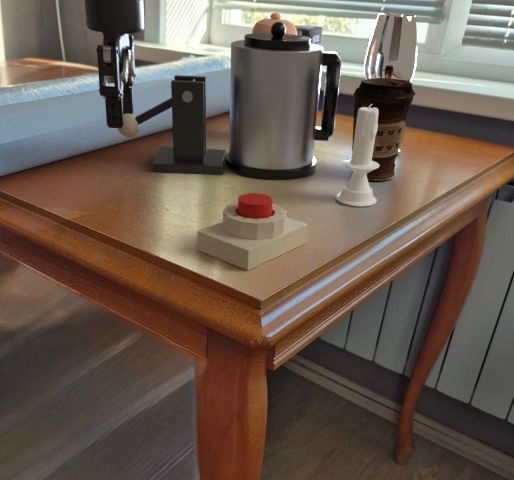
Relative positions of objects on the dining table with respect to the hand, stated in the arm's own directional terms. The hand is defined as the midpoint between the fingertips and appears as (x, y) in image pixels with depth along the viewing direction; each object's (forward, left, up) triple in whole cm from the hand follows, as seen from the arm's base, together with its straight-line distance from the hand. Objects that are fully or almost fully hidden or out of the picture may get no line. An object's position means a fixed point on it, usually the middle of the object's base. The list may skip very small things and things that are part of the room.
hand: (121, 120), depth 87 cm
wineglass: (+40, +12, -6) cm, 42 cm away
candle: (+33, -13, -6) cm, 36 cm away
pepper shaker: (+22, +16, -6) cm, 28 cm away
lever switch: (+6, 0, 0) cm, 6 cm away
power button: (+19, -30, -2) cm, 35 cm away
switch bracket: (+10, 0, -6) cm, 11 cm away
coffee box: (+27, +32, -6) cm, 42 cm away
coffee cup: (+37, -2, -6) cm, 37 cm away
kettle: (+23, +1, -6) cm, 24 cm away
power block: (+19, -30, -6) cm, 36 cm away
